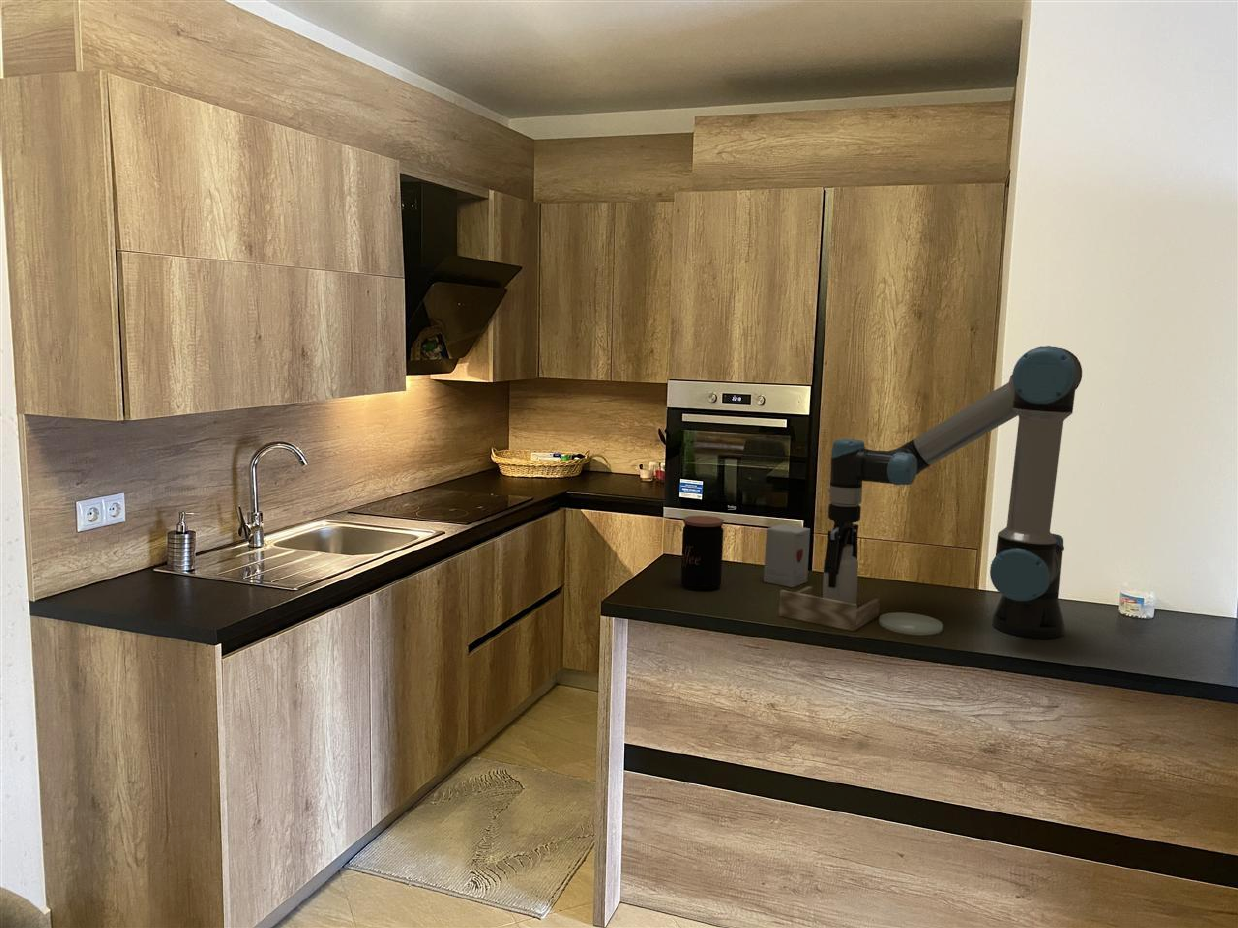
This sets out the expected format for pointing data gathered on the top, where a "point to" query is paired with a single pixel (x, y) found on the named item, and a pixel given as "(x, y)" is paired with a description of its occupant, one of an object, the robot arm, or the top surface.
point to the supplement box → (787, 555)
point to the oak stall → (826, 610)
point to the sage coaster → (911, 623)
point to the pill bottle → (845, 576)
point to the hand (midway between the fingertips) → (839, 596)
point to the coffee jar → (702, 553)
